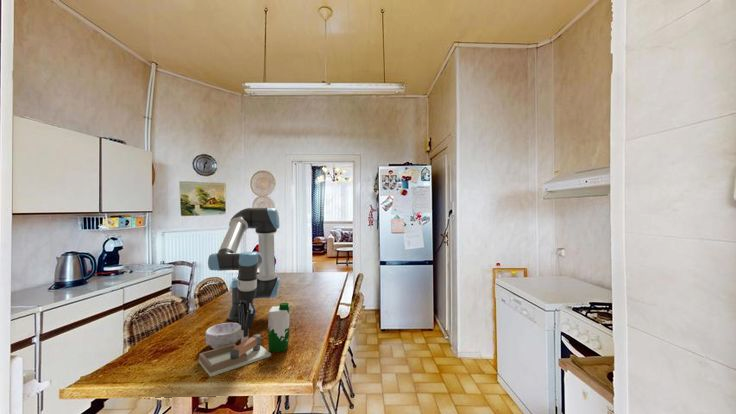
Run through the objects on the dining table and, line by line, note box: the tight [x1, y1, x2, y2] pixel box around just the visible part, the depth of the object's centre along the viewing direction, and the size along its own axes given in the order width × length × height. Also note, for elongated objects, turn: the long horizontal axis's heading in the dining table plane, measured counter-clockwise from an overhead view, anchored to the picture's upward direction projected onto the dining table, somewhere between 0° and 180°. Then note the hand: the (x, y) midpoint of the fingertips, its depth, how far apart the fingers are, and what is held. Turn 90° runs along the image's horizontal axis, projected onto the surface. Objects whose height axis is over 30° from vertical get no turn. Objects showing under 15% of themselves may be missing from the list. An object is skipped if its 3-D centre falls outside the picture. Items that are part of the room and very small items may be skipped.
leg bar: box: [230, 333, 262, 359], centre depth 127 cm, size 17×4×3 cm, turn 165°
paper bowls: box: [205, 322, 241, 350], centre depth 141 cm, size 15×15×8 cm
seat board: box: [198, 343, 272, 378], centre depth 128 cm, size 15×24×4 cm, turn 134°
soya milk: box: [267, 302, 290, 353], centre depth 138 cm, size 9×9×20 cm
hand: (244, 343), depth 130 cm, fingers closed
